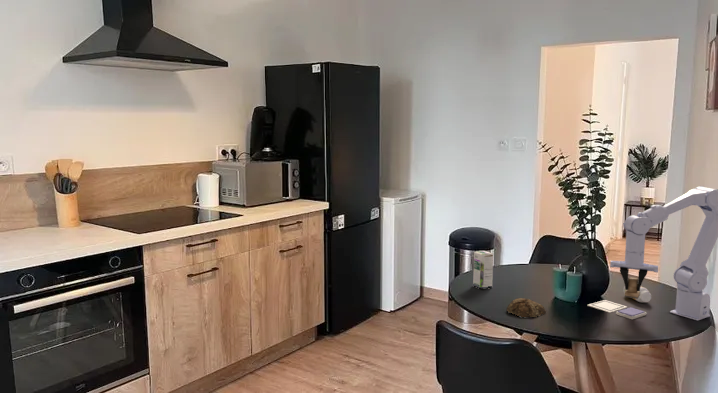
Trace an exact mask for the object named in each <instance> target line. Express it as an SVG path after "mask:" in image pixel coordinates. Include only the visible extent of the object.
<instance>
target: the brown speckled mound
mask: <svg viewBox="0 0 718 393" xmlns="http://www.w3.org/2000/svg"><path fill="white" fill-rule="evenodd" d="M507 311H508V312H509V313H512V314H511V315H514V314H515V315H514V316H516V315H517V316H521V317H529V318H530V317H536V318H538V317H537V316H539V315H540V316H542V315H541V314H543V315H545V314H546V312H547V311H546V309H545V307H544V306H543V305H542V304H540V303H538V302H536V301H534V300H532V299H530V298H522V297H520V298H519V297H518V298H515V299H513V300H512V301H510V303H509V304H508V305H507V307H506V312H507ZM509 313H508V314H509ZM517 316H516V317H517ZM540 316H539V317H540Z"/></svg>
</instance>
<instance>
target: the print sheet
mask: <svg viewBox="0 0 718 393" xmlns="http://www.w3.org/2000/svg"><path fill="white" fill-rule="evenodd" d="M587 307H590V308H594V309H597V310H600V311H604V312H606V313H609V314H611V313H614V312H617V311H620V310H623V309H626V308H628V306H627V305H623V304H620V303H616V302H613V301H610V300H606V299H603V300H600V301H597V302H596V301H595V302H593V303H589V304H587Z"/></svg>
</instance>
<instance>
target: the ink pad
mask: <svg viewBox="0 0 718 393" xmlns="http://www.w3.org/2000/svg"><path fill="white" fill-rule="evenodd" d="M615 315H618V316H620V317H623V318H626V319H630V320H635V319H638V318H642V317H644V316H647V312H646V311H644V310H641V309H637V308H635V307H627V308H624V309H621V310H618V311H615Z"/></svg>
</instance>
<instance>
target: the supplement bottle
mask: <svg viewBox="0 0 718 393" xmlns="http://www.w3.org/2000/svg"><path fill="white" fill-rule="evenodd" d="M622 290H623V293H624V294H625V291H626V290H625V285H624V286H623V289H622ZM632 299H633V300H635V301H636V302H639V303H648V302H650V301H651V300H652V294H651V293H650V291H649V289H647V288H646V287H643V286H642V285H641V286H640V296H639V298H638V299H635V298H632Z"/></svg>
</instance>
